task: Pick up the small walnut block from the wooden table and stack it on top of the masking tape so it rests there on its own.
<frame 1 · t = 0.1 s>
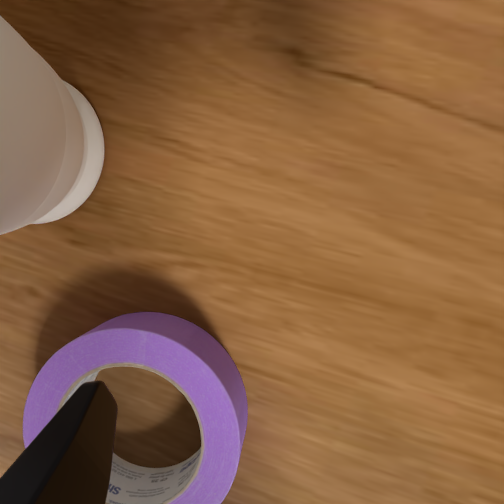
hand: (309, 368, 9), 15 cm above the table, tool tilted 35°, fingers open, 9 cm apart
jar: (39, 151, 24), on the table
masking tape: (153, 404, 26), on the table
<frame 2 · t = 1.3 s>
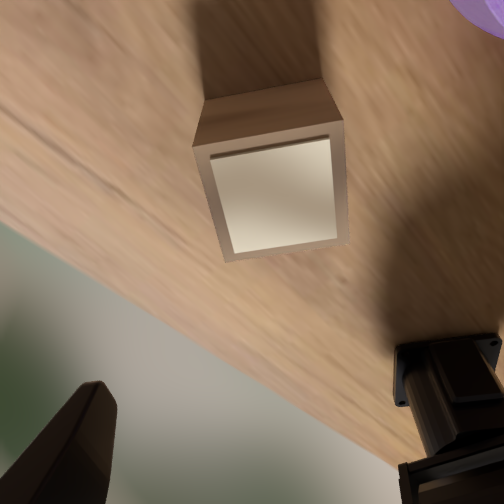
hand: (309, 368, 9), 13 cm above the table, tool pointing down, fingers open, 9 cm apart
walnut block: (271, 144, 19), on the table
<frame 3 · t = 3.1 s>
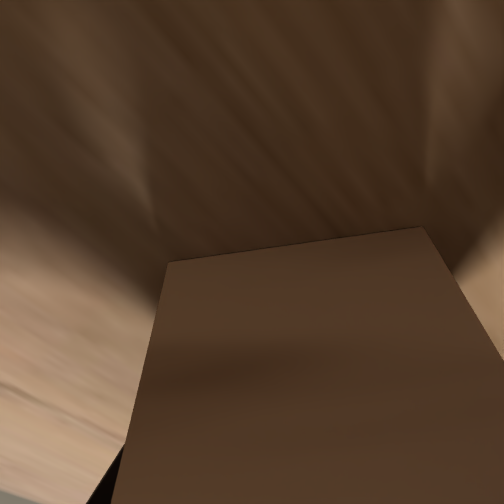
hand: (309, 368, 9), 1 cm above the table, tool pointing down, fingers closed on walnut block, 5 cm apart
walnut block: (303, 330, 10), on the table, touching gripper
when the fingers open (6 cm above the table, at t = 7.0 s): walnut block drops 2 cm, resting on masking tape.
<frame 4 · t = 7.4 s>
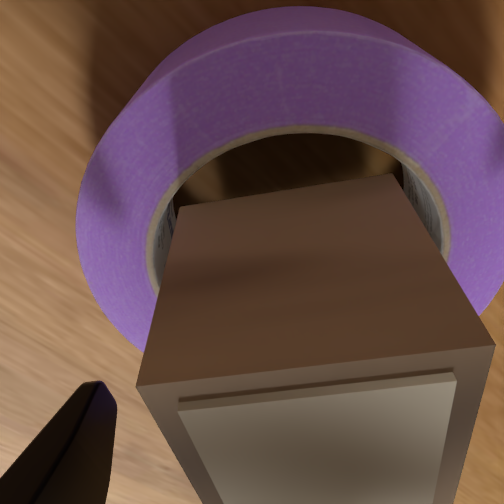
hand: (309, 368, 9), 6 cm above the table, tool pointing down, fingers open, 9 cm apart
walnut block: (295, 271, 11), point 3 cm above the table, touching masking tape
masking tape: (285, 197, 14), on the table, touching walnut block
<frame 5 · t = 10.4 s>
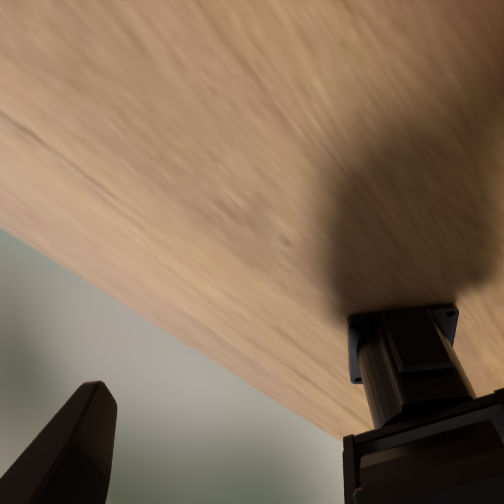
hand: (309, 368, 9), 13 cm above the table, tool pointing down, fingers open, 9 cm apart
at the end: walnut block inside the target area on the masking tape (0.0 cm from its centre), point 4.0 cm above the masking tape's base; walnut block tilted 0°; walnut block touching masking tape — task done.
